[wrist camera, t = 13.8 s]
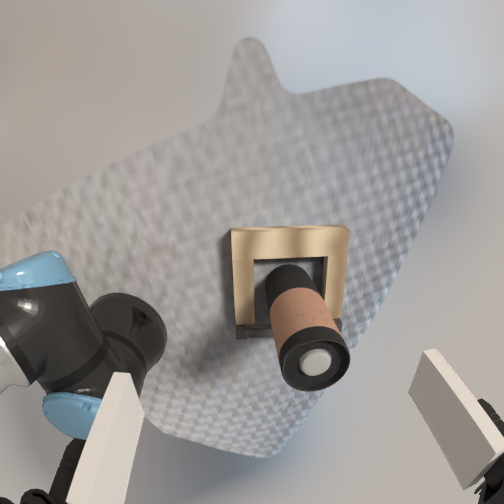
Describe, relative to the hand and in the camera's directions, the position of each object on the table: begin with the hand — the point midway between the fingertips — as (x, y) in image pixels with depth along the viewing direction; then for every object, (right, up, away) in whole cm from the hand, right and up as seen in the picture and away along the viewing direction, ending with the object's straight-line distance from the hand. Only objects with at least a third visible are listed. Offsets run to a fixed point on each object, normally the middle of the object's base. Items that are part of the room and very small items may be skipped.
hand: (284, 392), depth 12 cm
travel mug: (+4, +1, +37) cm, 37 cm away
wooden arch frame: (+4, +2, +37) cm, 37 cm away
